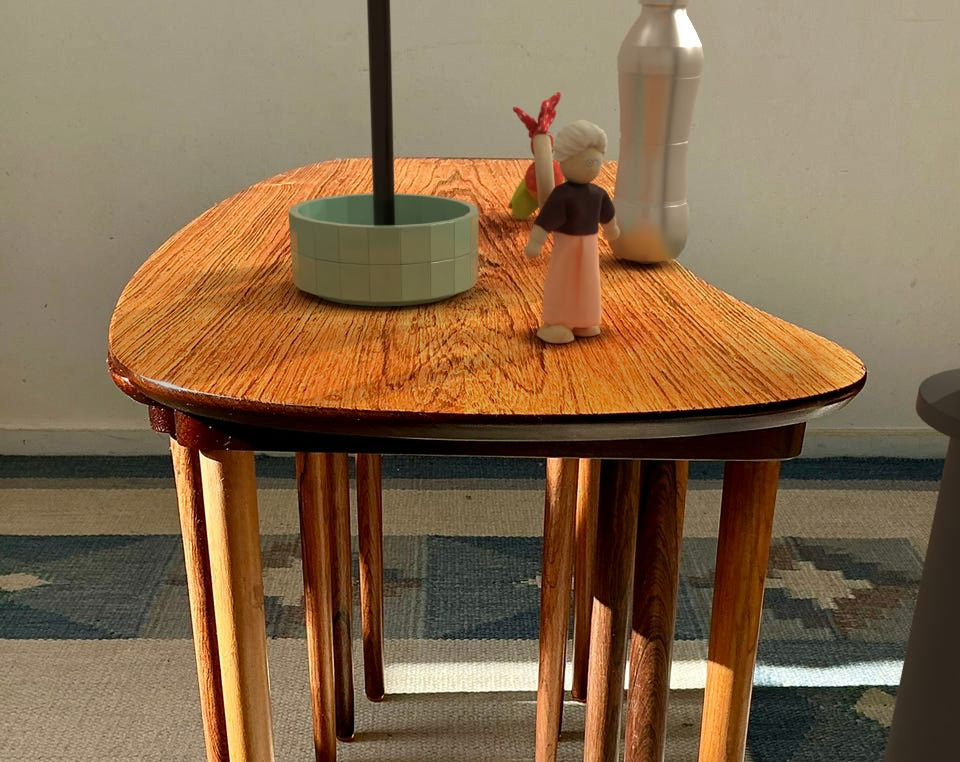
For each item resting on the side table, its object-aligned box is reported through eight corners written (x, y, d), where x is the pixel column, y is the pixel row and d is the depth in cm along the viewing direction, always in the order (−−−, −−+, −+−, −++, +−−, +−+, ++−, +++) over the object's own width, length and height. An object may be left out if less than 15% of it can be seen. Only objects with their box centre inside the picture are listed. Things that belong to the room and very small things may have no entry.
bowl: (496, 274, 93) (497, 198, 90) (449, 317, 81) (449, 231, 79) (331, 263, 95) (328, 189, 93) (265, 303, 84) (259, 220, 82)
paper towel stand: (427, 274, 90) (424, -12, 81) (407, 289, 86) (402, -11, 77) (365, 270, 91) (355, -13, 82) (343, 284, 87) (330, -12, 78)
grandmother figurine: (564, 351, 74) (574, 128, 68) (513, 341, 76) (518, 122, 70) (630, 326, 80) (644, 116, 74) (580, 316, 82) (591, 112, 76)
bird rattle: (582, 251, 110) (571, 193, 116) (595, 137, 101) (583, 80, 107) (513, 252, 110) (505, 194, 115) (520, 137, 101) (511, 80, 106)
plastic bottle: (676, 252, 100) (700, -25, 91) (694, 270, 94) (721, -23, 85) (598, 252, 100) (613, -25, 90) (611, 271, 94) (629, -24, 84)
